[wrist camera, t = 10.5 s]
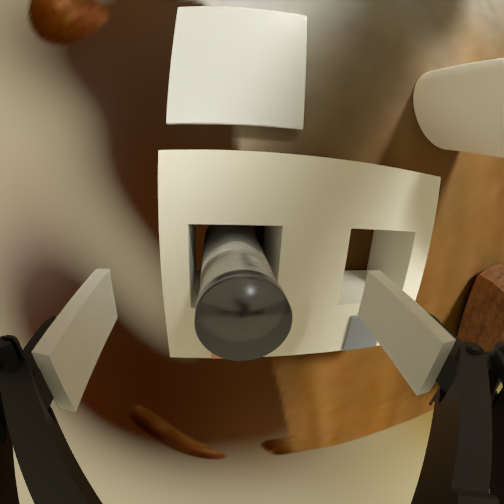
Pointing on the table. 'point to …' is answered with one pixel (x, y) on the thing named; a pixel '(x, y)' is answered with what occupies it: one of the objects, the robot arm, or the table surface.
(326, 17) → the table surface
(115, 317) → the robot arm
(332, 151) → the table surface
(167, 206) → the socket block
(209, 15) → the white flat square plate
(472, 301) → the bread
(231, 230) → the plug
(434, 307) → the table surface
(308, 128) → the table surface
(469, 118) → the cup
